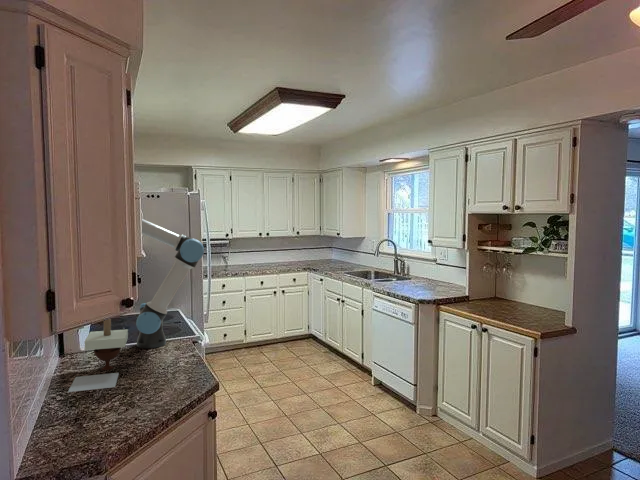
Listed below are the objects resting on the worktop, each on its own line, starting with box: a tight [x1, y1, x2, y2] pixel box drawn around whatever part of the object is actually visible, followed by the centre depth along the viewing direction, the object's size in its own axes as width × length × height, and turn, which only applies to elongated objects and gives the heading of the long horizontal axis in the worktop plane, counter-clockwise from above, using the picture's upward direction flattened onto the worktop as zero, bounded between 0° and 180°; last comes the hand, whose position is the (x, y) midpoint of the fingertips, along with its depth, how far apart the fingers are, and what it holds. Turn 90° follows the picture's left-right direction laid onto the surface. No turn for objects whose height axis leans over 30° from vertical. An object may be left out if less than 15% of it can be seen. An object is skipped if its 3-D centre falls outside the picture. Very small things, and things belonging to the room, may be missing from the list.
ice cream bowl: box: [93, 347, 122, 371], centre depth 196 cm, size 11×11×15 cm
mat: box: [67, 372, 120, 393], centre depth 179 cm, size 17×17×1 cm
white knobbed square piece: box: [84, 318, 129, 351], centre depth 195 cm, size 16×16×13 cm
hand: (97, 279), depth 213 cm, fingers open, 13 cm apart
